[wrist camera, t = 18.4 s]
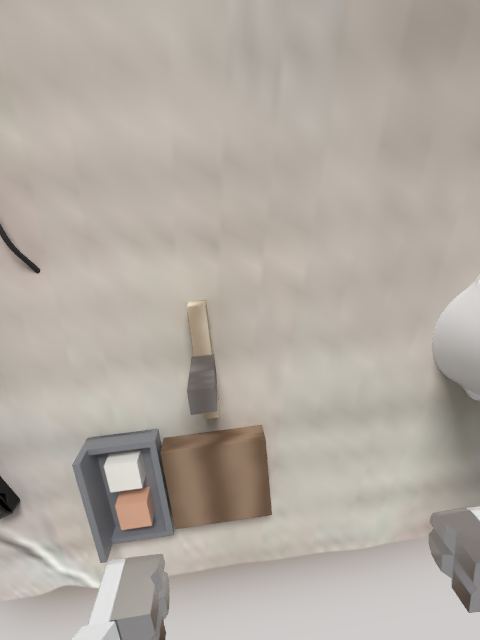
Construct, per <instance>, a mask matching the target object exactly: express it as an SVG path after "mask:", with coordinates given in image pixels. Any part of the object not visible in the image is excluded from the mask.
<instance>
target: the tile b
mask: <svg viewBox="0 0 480 640" xmlns="http://www.w3.org/2000/svg"><path fill="white" fill-rule="evenodd" d="M115 508H116V512H117V516H118V519H119V523H120V527H121V530H126V529H133V528H139V527H146V526H152V523H153V518H154V513H155V507H154V503H153V498H152V494H151V489H150V487H144V488H140V489H133V490H125V491H120V493H119V496H118V499H117V502H116V504H115Z"/></svg>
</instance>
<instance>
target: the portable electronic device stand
mask: <svg viewBox="0 0 480 640" xmlns="http://www.w3.org/2000/svg"><path fill="white" fill-rule="evenodd" d="M19 502H20V499H19V497H18V496H17V495H16V494H15V493H14V492H13V490H12V489H11V488H10V487H9V486H8V485H7V483H6V482H5V481H4V480H3V479H2V478H1V476H0V519H1V518H3V517H6V516H8V515H10V514H12V513H13V511H14V509H15V508H16V506H17V505H18V503H19Z"/></svg>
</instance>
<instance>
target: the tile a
mask: <svg viewBox="0 0 480 640" xmlns="http://www.w3.org/2000/svg"><path fill="white" fill-rule="evenodd" d="M104 469H105V473H106V477H107V481H108V485H109V489H110V493H111V492H118V491H125V490H133V489H140V488H143V484H144V480H145V476H146V471H145V466H144V461H143V456H142V452H141V449H134V450H126V451H119V452H111V453H109V455H108V458H107V460H106V462H105V464H104Z"/></svg>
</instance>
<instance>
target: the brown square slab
mask: <svg viewBox="0 0 480 640" xmlns="http://www.w3.org/2000/svg"><path fill="white" fill-rule="evenodd" d="M161 458H162V463H163V468H164V474H165V479H166V484H167V489H168V494H169V499H170V504H171V509H172V515H173V520H174V525H175V529H179V528H186V527H192V526H199V525H206V524H213V523H220V522H227V521H233V520H240V519H247V518H254V517H261V516H268V515H272V510H271V499H270V487H269V476H268V464H267V453H266V441H265V436H264V432H263V428H262V425H260V426H252V427H244V428H237V429H229V430H222V431H214V432H207V433H199V434H192V435H184V436H176V437H169V438H164V440H163V444H162V449H161Z"/></svg>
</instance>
